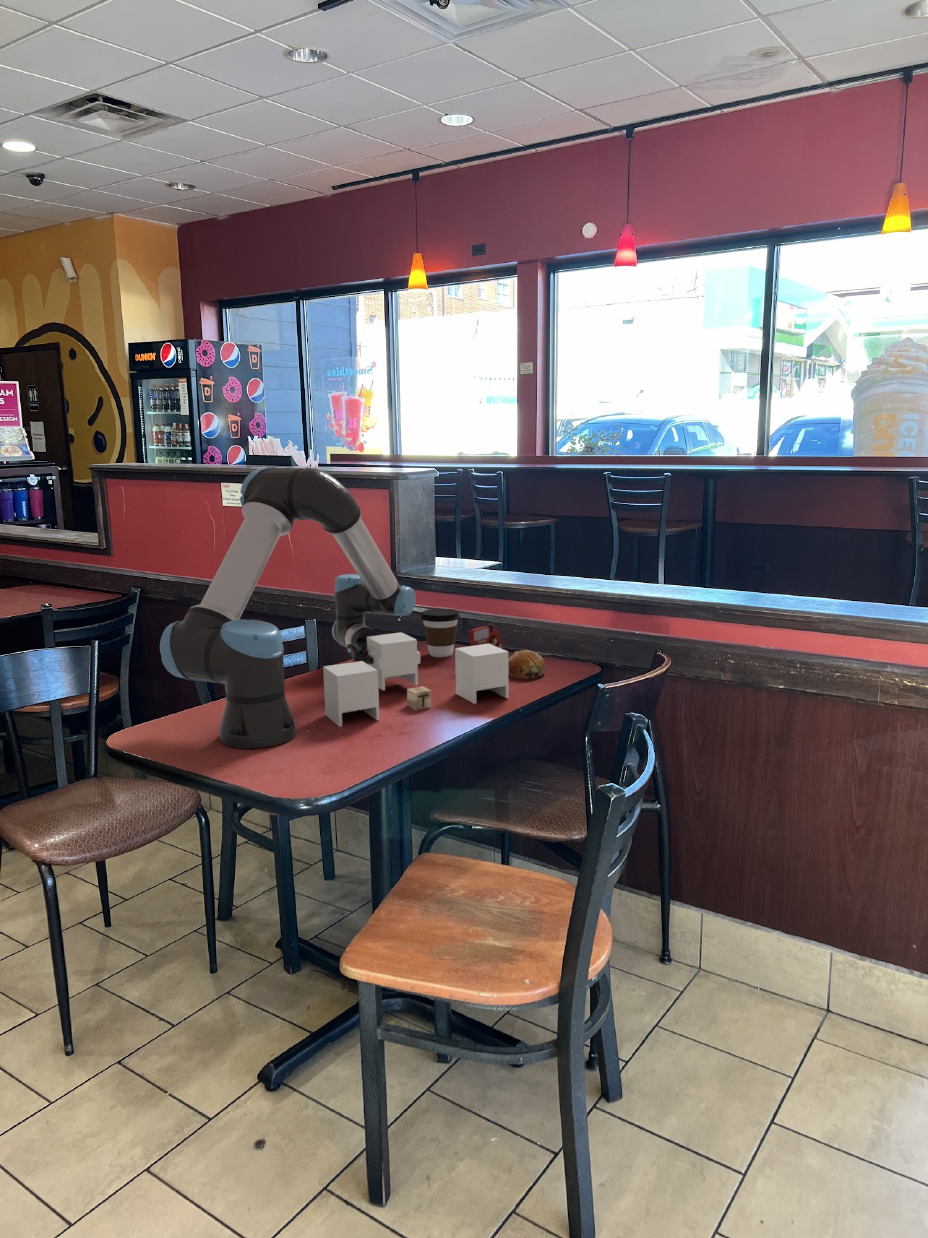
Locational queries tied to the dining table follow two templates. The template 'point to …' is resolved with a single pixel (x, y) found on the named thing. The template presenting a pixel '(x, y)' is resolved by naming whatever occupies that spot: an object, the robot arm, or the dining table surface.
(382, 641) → the tall off-white cuboid
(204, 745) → the dining table surface
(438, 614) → the coffee cup
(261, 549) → the robot arm
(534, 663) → the bread roll
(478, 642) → the toy fire truck
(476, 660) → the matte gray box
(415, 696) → the letter cube
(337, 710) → the matte white cube
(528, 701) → the dining table surface
